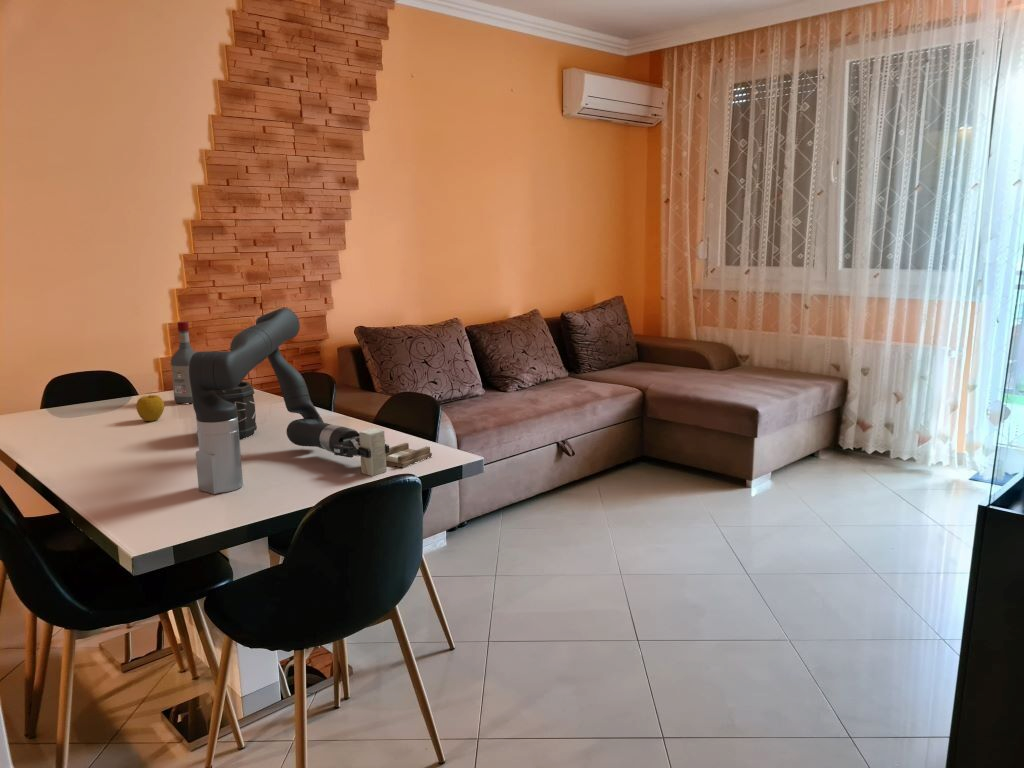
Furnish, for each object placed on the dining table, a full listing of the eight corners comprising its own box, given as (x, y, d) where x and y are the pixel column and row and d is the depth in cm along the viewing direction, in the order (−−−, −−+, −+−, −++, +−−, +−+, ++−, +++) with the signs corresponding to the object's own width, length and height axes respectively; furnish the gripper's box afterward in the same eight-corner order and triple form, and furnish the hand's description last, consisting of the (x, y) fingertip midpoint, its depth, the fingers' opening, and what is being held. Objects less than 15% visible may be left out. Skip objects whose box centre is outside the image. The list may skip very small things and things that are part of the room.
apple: (155, 424, 245) (152, 398, 244) (131, 423, 247) (129, 397, 245) (170, 418, 254) (168, 393, 252) (148, 417, 255) (145, 392, 253)
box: (376, 468, 195) (374, 427, 193) (387, 471, 192) (385, 430, 190) (360, 473, 191) (358, 431, 189) (371, 476, 188) (369, 434, 186)
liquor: (192, 404, 275) (185, 323, 270) (171, 403, 277) (163, 323, 272) (208, 399, 284) (201, 321, 279) (187, 398, 286) (180, 320, 281)
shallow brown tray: (403, 468, 195) (402, 457, 195) (374, 462, 201) (374, 452, 200) (431, 457, 205) (431, 447, 205) (404, 451, 211) (403, 442, 210)
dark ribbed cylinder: (207, 446, 218) (203, 393, 215) (189, 434, 232) (184, 385, 229) (267, 436, 229) (264, 386, 226) (246, 425, 243) (243, 378, 240)
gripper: (316, 431, 194) (355, 442, 183) (361, 422, 205) (400, 432, 193) (317, 459, 196) (356, 472, 184) (362, 448, 206) (401, 459, 195)
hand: (379, 451), depth 189 cm, fingers closed on box, 5 cm apart
